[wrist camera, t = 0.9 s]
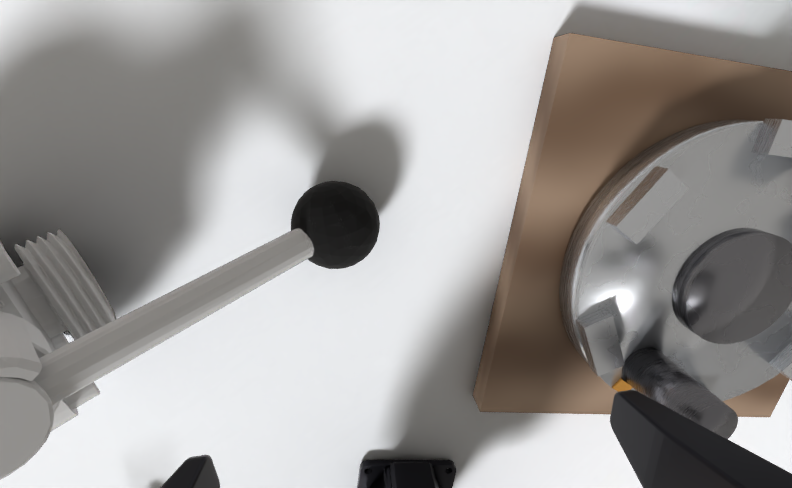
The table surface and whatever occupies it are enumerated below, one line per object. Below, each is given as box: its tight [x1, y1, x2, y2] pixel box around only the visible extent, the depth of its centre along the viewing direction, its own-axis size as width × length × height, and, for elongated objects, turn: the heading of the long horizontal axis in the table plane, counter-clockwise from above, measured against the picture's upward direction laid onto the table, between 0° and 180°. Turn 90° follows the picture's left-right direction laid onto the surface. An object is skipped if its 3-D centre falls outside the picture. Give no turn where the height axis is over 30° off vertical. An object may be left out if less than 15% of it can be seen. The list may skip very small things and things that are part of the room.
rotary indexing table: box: [559, 118, 792, 439], centre depth 20 cm, size 16×16×6 cm
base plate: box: [473, 33, 792, 417], centre depth 24 cm, size 21×21×2 cm
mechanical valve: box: [0, 181, 380, 480], centre depth 19 cm, size 10×18×15 cm
